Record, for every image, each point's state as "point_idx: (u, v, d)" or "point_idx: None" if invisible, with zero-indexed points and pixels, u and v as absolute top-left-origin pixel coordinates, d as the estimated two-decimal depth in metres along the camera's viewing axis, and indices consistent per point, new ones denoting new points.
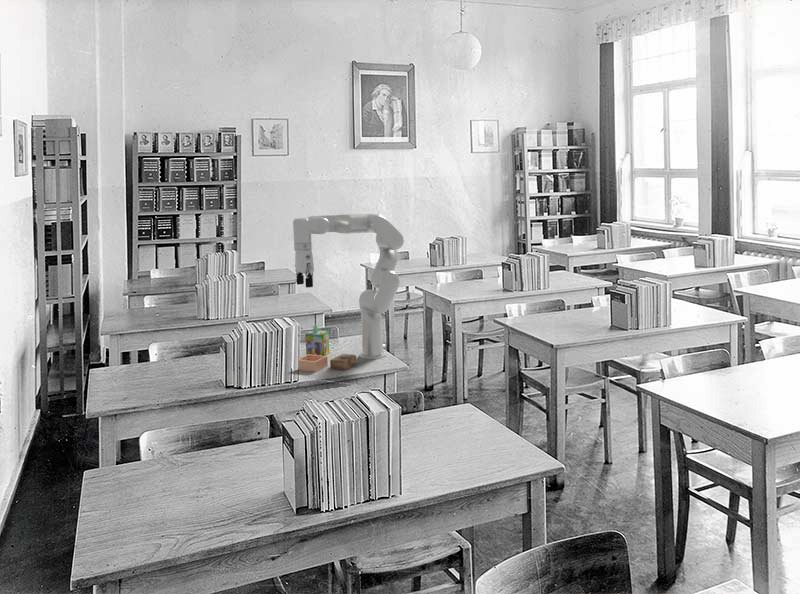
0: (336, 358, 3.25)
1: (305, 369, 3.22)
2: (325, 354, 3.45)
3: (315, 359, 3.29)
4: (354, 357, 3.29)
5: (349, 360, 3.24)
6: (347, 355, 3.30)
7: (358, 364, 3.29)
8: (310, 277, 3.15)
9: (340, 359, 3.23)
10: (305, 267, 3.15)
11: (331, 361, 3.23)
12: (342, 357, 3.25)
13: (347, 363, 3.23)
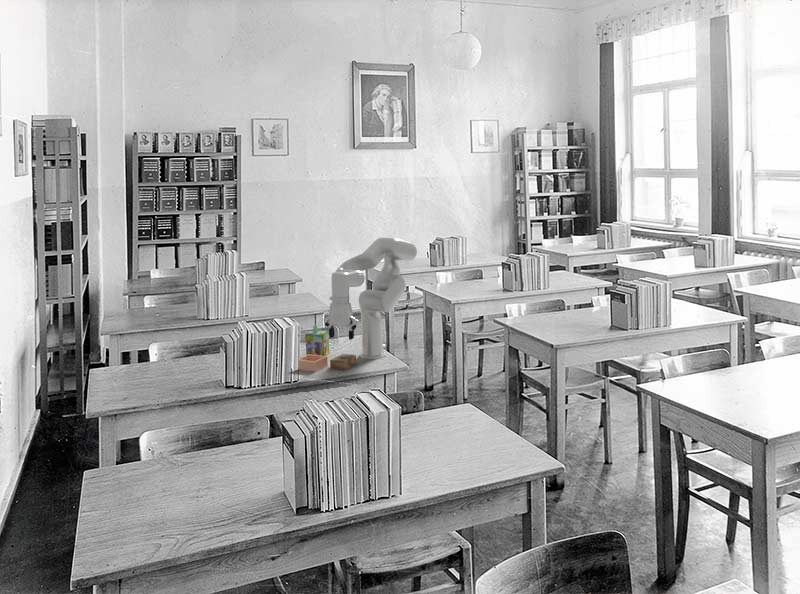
0: (336, 358, 3.25)
1: (305, 369, 3.22)
2: (325, 354, 3.45)
3: (315, 359, 3.29)
4: (354, 357, 3.29)
5: (349, 360, 3.24)
6: (347, 355, 3.30)
7: (358, 364, 3.29)
8: None
9: (340, 359, 3.23)
10: None
11: (331, 361, 3.23)
12: (342, 357, 3.25)
13: (347, 363, 3.23)
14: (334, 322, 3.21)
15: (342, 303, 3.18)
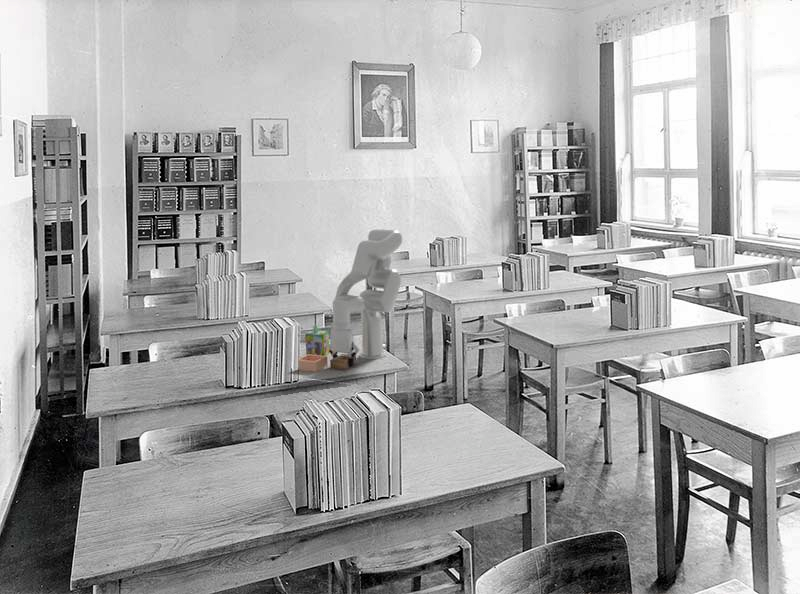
0: (336, 358, 3.25)
1: (305, 369, 3.22)
2: (325, 354, 3.45)
3: (315, 359, 3.29)
4: (354, 357, 3.29)
5: None
6: (347, 355, 3.30)
7: (358, 364, 3.29)
8: None
9: (340, 359, 3.23)
10: None
11: (331, 361, 3.23)
12: (342, 357, 3.25)
13: (347, 363, 3.23)
14: (335, 349, 3.24)
15: (343, 330, 3.20)
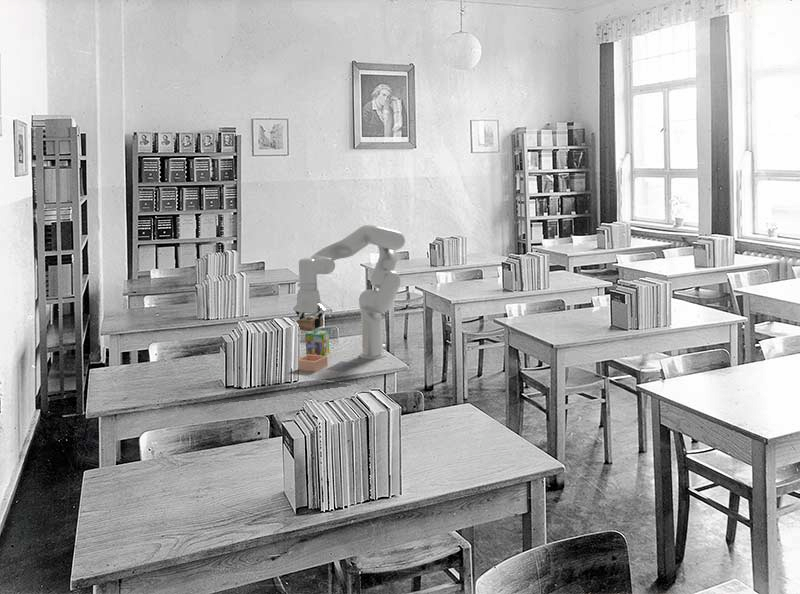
0: (302, 319, 3.21)
1: (305, 369, 3.22)
2: (325, 354, 3.45)
3: (315, 359, 3.29)
4: (321, 319, 3.24)
5: None
6: (314, 317, 3.25)
7: (358, 364, 3.29)
8: None
9: (306, 320, 3.18)
10: None
11: (297, 322, 3.18)
12: (308, 318, 3.21)
13: (313, 324, 3.18)
14: (302, 309, 3.19)
15: (309, 290, 3.16)
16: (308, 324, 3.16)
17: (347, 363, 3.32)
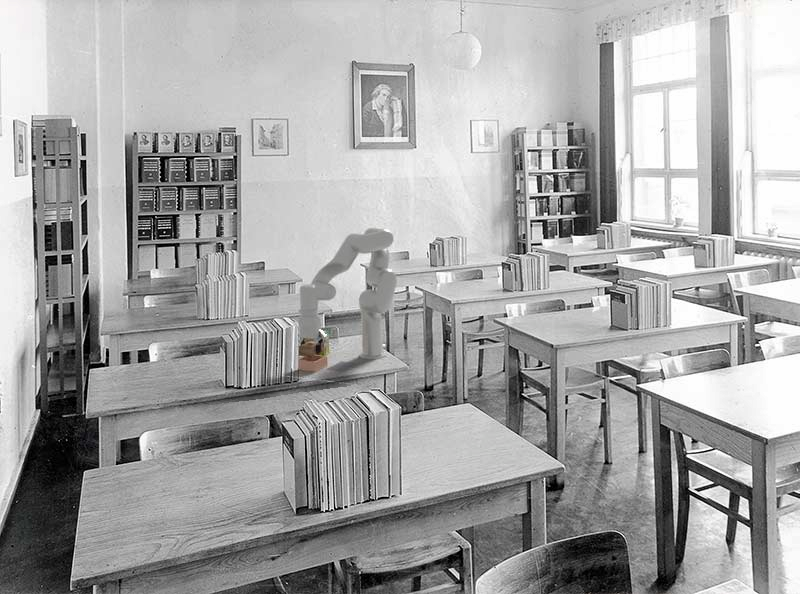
0: (303, 345, 3.23)
1: (305, 369, 3.22)
2: (325, 354, 3.45)
3: (315, 359, 3.29)
4: (322, 344, 3.26)
5: None
6: (315, 342, 3.27)
7: (358, 364, 3.29)
8: None
9: (307, 346, 3.20)
10: None
11: None
12: (309, 344, 3.23)
13: (314, 350, 3.20)
14: (303, 335, 3.21)
15: (311, 316, 3.18)
16: (309, 350, 3.18)
17: (347, 363, 3.32)
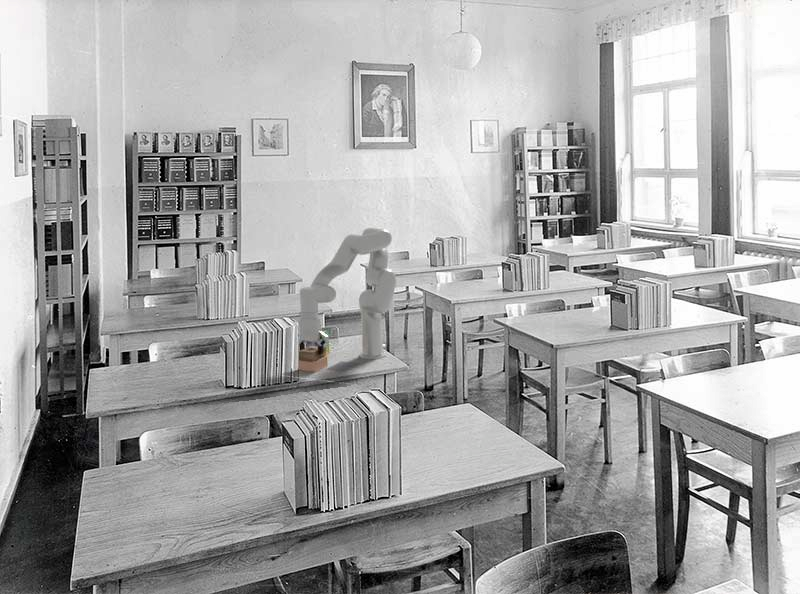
0: (304, 350, 3.23)
1: (305, 369, 3.22)
2: (325, 354, 3.45)
3: None
4: (323, 349, 3.27)
5: (317, 352, 3.22)
6: (316, 347, 3.28)
7: (358, 364, 3.29)
8: None
9: (307, 351, 3.21)
10: None
11: (299, 353, 3.21)
12: (310, 349, 3.23)
13: (314, 355, 3.21)
14: (303, 338, 3.22)
15: (311, 319, 3.18)
16: (310, 355, 3.19)
17: (347, 363, 3.32)
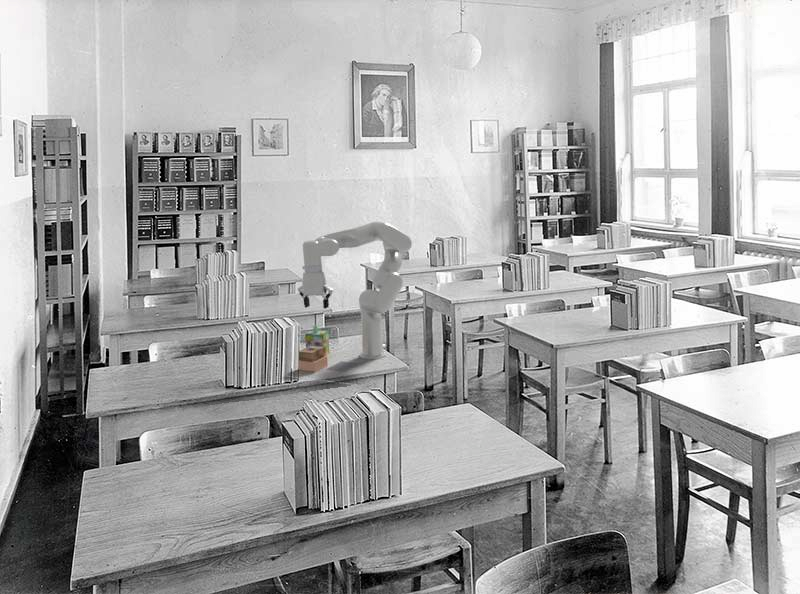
0: (304, 350, 3.23)
1: (305, 369, 3.22)
2: (325, 354, 3.45)
3: None
4: (323, 349, 3.27)
5: (317, 352, 3.22)
6: (316, 347, 3.28)
7: (358, 364, 3.29)
8: None
9: (307, 351, 3.21)
10: None
11: (299, 353, 3.21)
12: (310, 349, 3.23)
13: (314, 355, 3.21)
14: (308, 292, 3.20)
15: (315, 272, 3.17)
16: (310, 355, 3.19)
17: (347, 363, 3.32)
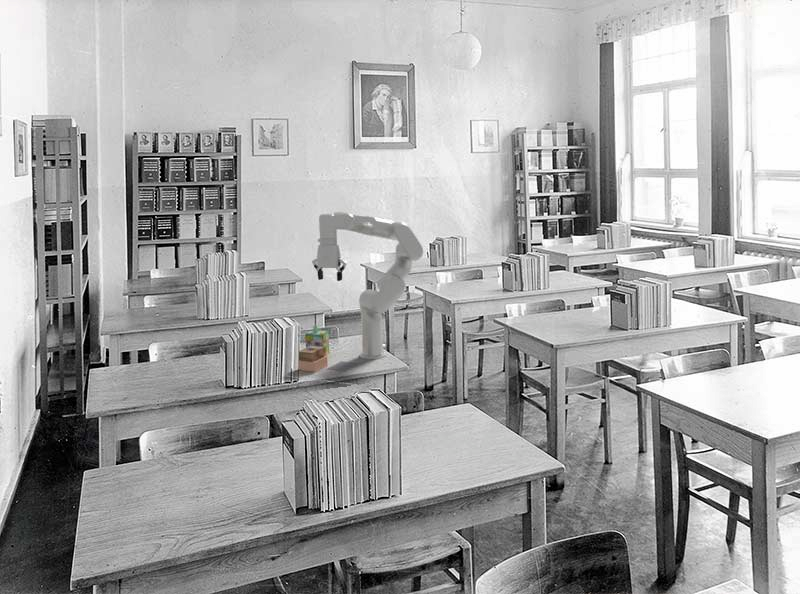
0: (304, 350, 3.23)
1: (305, 369, 3.22)
2: (325, 354, 3.45)
3: None
4: (323, 349, 3.27)
5: (317, 352, 3.22)
6: (316, 347, 3.28)
7: (358, 364, 3.29)
8: None
9: (307, 351, 3.21)
10: None
11: (299, 353, 3.21)
12: (310, 349, 3.23)
13: (314, 355, 3.21)
14: (322, 264, 3.25)
15: (330, 244, 3.21)
16: (310, 355, 3.19)
17: (347, 363, 3.32)
